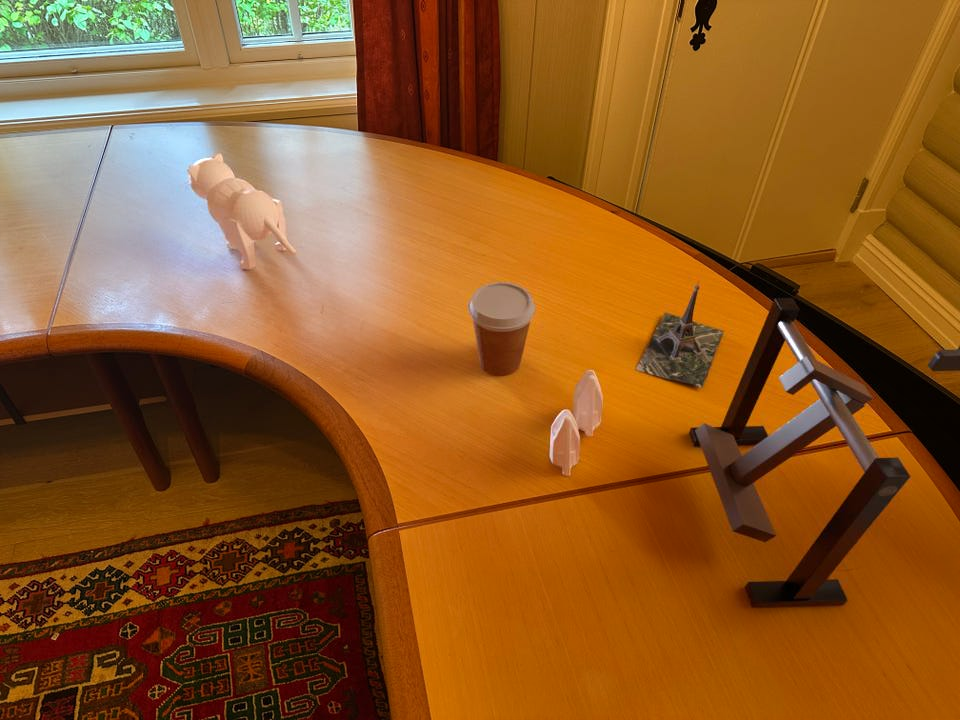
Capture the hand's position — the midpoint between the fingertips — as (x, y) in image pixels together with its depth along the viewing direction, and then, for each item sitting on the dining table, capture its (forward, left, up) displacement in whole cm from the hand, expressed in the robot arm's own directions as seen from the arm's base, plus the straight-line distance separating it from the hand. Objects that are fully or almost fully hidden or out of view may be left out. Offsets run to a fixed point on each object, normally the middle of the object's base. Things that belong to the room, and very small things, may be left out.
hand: (957, 390), depth 60 cm
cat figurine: (+102, +30, -21) cm, 108 cm away
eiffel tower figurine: (+32, -7, -21) cm, 39 cm away
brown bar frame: (+14, +16, -14) cm, 25 cm away
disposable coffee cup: (+49, +16, -21) cm, 56 cm away
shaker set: (+31, +19, -21) cm, 42 cm away
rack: (+9, +11, -20) cm, 25 cm away
